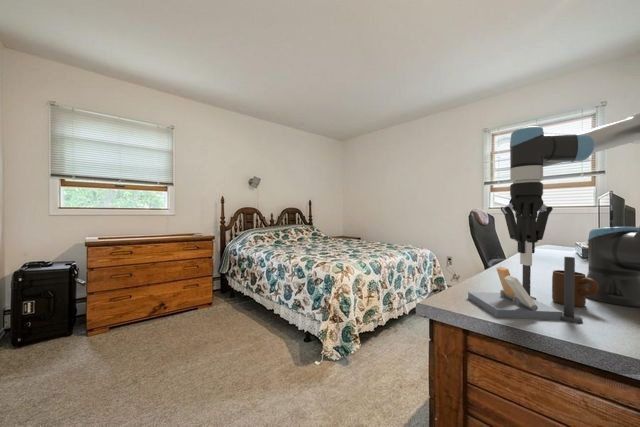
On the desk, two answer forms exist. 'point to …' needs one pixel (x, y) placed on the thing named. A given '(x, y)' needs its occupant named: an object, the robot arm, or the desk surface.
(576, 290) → the mug
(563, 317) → the post
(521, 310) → the panel
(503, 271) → the paddle
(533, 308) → the paddle
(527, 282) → the post
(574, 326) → the desk surface
